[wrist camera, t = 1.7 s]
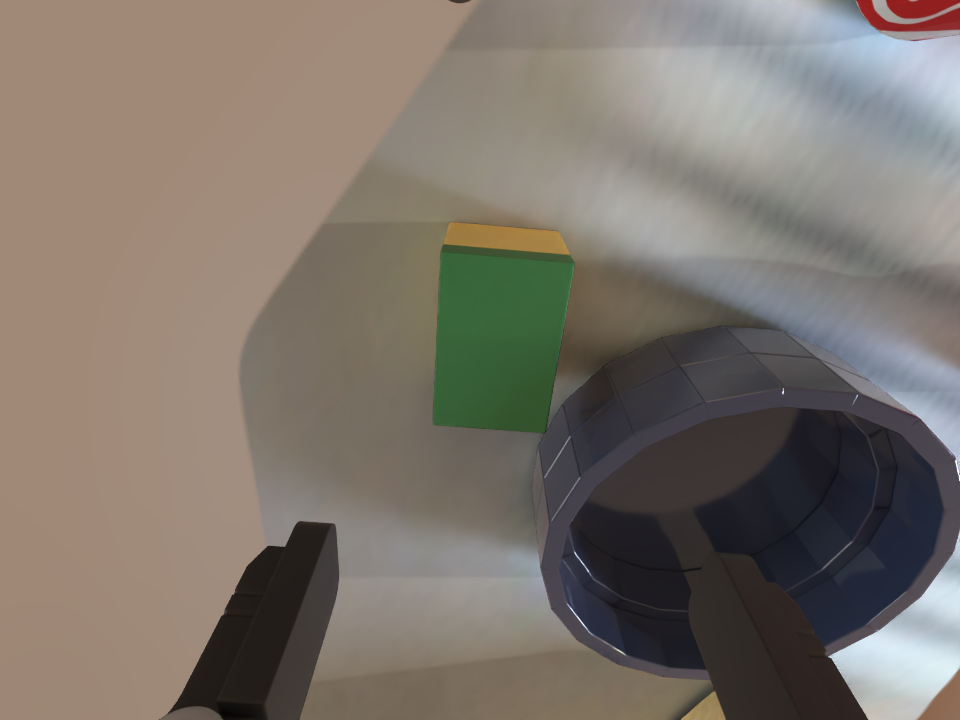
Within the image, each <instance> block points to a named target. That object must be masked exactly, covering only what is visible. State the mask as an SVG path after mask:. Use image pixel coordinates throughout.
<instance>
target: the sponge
mask: <svg viewBox="0 0 960 720" xmlns="http://www.w3.org/2000/svg"><path fill="white" fill-rule="evenodd" d="M574 266H575V263H574V261H573V259H572V257H571V255H570V254H569V252H568V250H567V248H566V246H565V244H564V242H563V240H562V238H561V236H560V234H559V232H558V231H549V230H537V229H525V228H514V227H502V226H491V225H479V224H468V223H456V222H450V223H449V226H448V230H447V233H446V237H445V240H444V243H443V246H442V250H441V254H440V275H439V297H438V318H437V339H436V360H435V382H434V403H433V425H442V426H455V427H469V428H482V429H495V430H508V431H521V432H534V433H545V432H546V427H547V421H548V416H549V410H550V404H551V398H552V393H553V387H554V381H555V375H556V370H557V364H558V358H559V352H560V347H561V341H562V335H563V329H564V324H565V318H566V312H567V306H568V301H569V295H570V289H571V284H572V278H573V272H574Z"/></svg>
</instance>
